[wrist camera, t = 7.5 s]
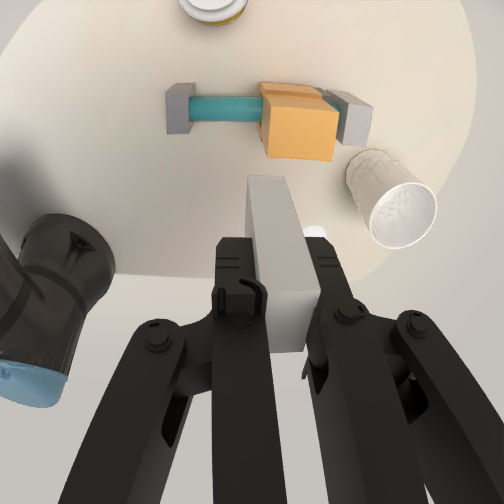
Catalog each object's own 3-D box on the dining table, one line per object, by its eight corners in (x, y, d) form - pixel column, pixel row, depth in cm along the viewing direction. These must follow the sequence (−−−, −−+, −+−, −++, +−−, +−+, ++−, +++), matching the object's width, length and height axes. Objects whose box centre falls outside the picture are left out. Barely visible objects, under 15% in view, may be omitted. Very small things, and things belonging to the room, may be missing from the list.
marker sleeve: (257, 126, 31) (266, 162, 23) (260, 82, 28) (271, 100, 20) (305, 129, 31) (330, 166, 24) (310, 85, 28) (340, 107, 21)
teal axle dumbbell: (176, 121, 32) (164, 142, 26) (175, 80, 29) (162, 92, 23) (342, 128, 33) (365, 150, 28) (348, 89, 30) (374, 104, 25)
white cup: (380, 208, 40) (412, 256, 32) (329, 191, 38) (355, 239, 30) (408, 158, 35) (450, 197, 28) (357, 134, 34) (394, 170, 26)
